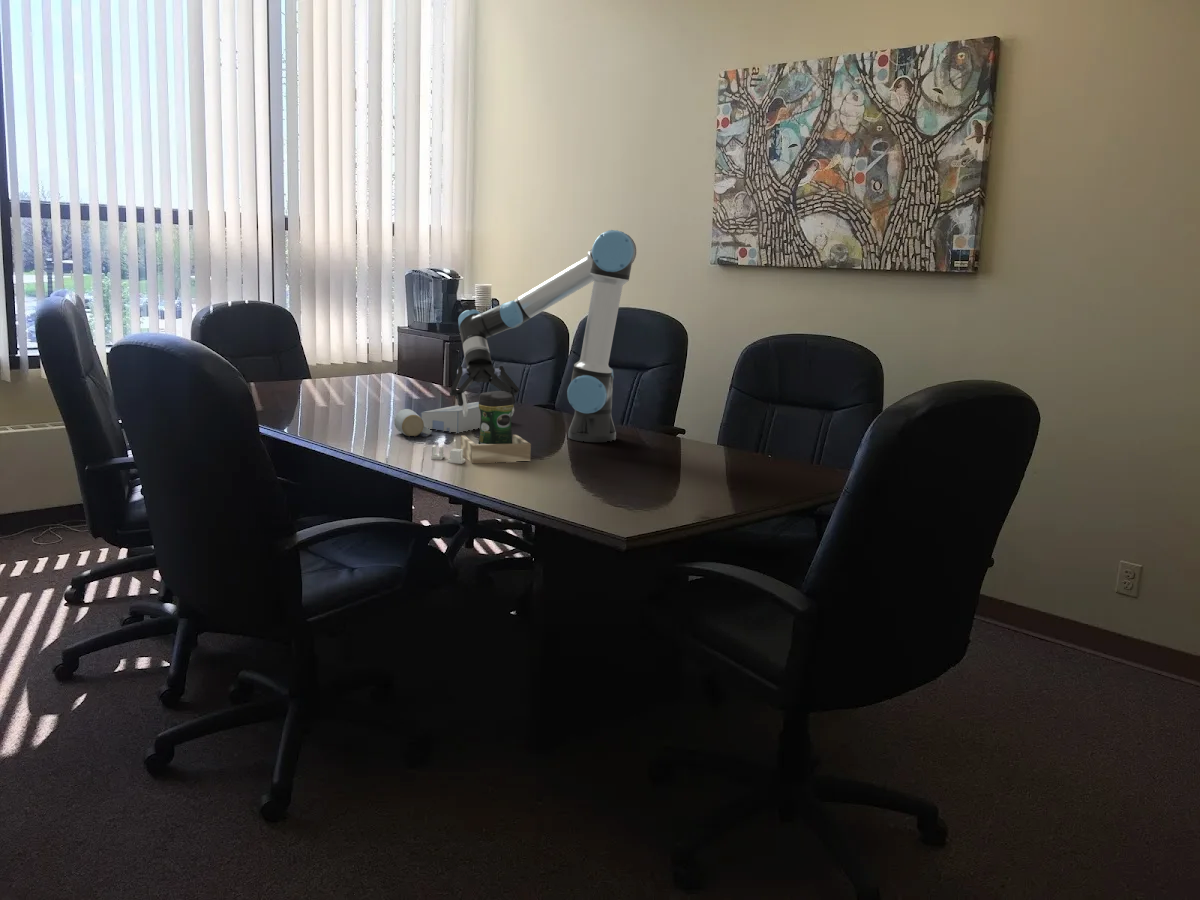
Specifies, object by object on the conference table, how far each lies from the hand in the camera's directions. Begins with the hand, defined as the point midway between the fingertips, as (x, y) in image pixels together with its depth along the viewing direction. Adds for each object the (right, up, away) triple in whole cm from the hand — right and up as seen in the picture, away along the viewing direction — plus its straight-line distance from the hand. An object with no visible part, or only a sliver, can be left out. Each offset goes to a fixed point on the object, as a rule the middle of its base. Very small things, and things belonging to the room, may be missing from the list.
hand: (489, 413), depth 276 cm
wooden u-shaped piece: (+2, -12, -4) cm, 13 cm away
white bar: (-13, -3, +45) cm, 47 cm away
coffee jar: (+2, -12, -4) cm, 13 cm away
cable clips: (-10, -13, -12) cm, 20 cm away
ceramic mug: (-26, -6, +23) cm, 36 cm away
